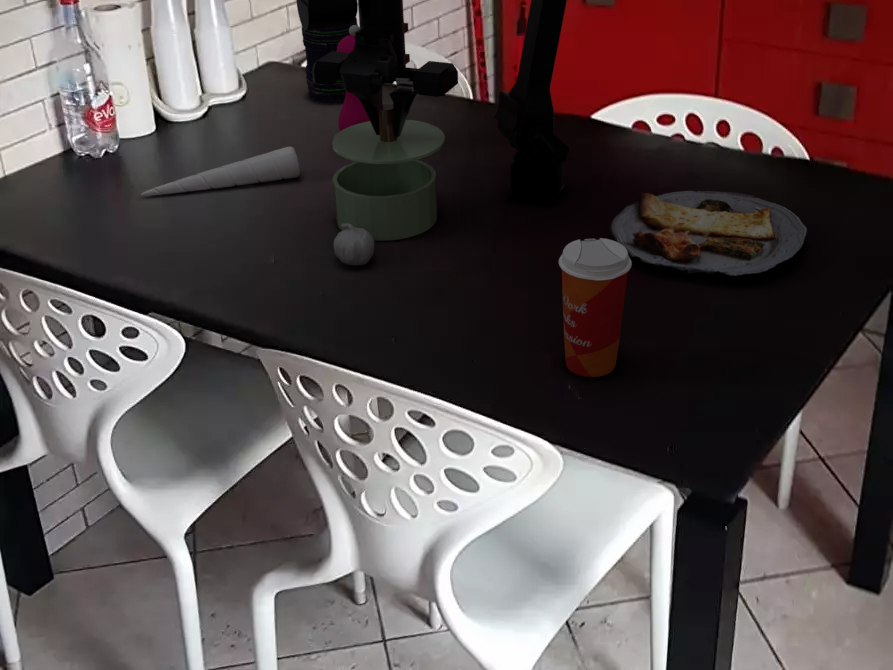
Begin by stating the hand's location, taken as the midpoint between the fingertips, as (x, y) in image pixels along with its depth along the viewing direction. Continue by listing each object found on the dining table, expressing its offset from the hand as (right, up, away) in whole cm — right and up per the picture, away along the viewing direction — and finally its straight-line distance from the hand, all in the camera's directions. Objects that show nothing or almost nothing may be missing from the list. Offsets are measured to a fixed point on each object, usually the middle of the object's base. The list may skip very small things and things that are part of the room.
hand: (388, 135), depth 157 cm
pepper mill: (-6, +3, +30) cm, 31 cm away
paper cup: (+24, -30, -27) cm, 47 cm away
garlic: (-4, -17, -4) cm, 18 cm away
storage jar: (-12, +16, +53) cm, 57 cm away
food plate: (+42, -15, -2) cm, 45 cm away
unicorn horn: (-25, -5, +19) cm, 32 cm away
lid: (0, -1, +1) cm, 1 cm away
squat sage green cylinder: (-1, -10, +7) cm, 13 cm away
